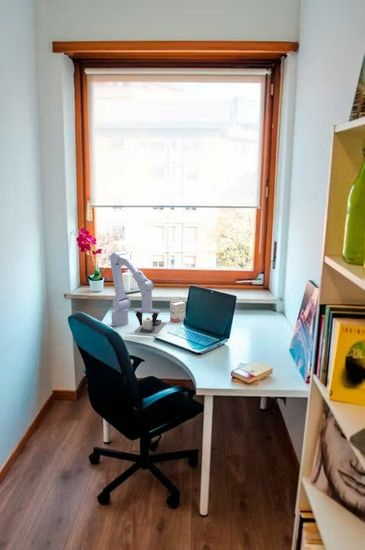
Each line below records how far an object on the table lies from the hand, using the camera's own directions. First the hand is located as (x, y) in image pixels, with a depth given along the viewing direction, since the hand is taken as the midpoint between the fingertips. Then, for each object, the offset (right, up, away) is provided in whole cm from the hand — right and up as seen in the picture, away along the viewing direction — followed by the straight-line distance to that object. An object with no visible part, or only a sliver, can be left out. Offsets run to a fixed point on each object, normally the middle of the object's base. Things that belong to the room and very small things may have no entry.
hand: (147, 325), depth 231 cm
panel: (+2, -3, +6) cm, 7 cm away
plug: (0, -3, +1) cm, 3 cm away
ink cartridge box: (+17, 0, +19) cm, 25 cm away
